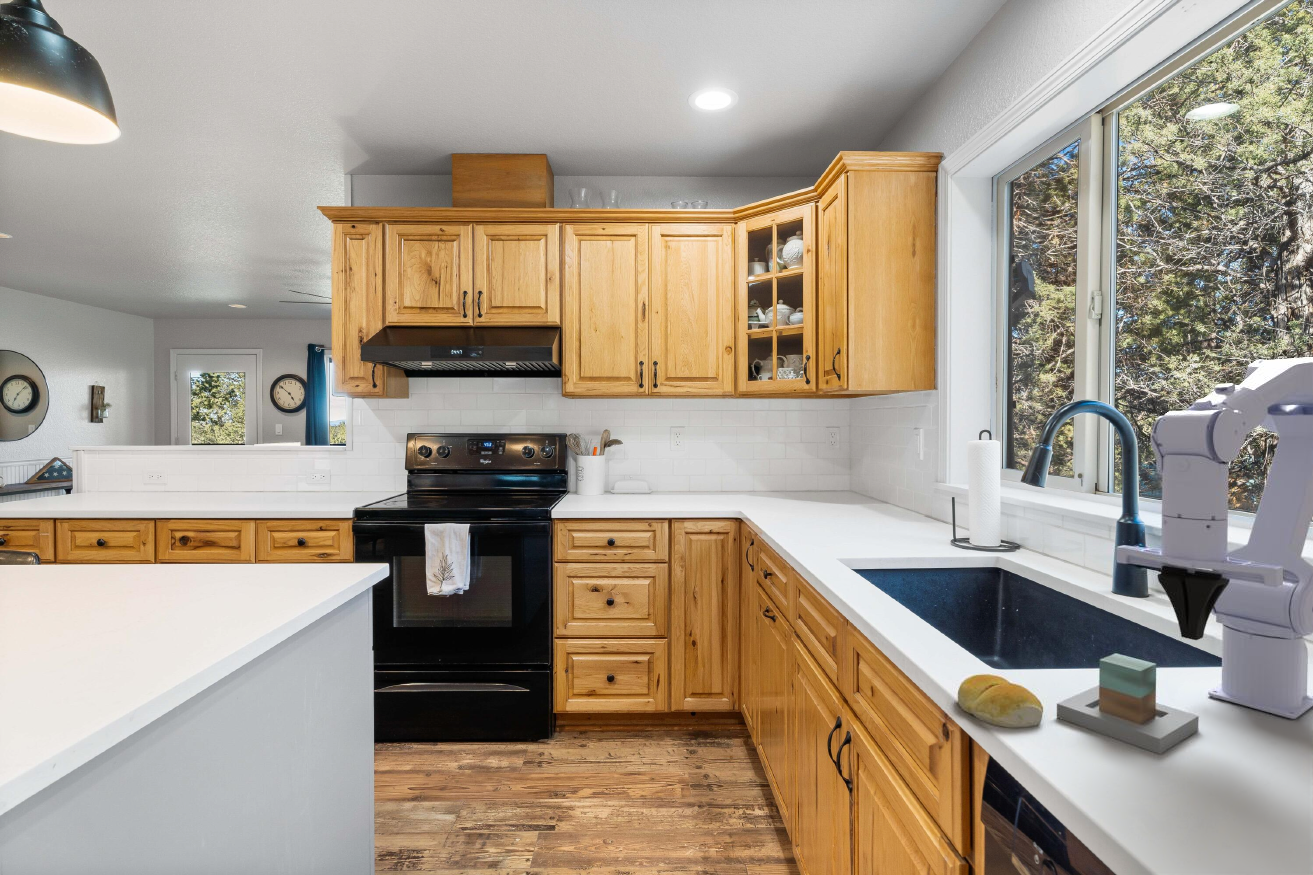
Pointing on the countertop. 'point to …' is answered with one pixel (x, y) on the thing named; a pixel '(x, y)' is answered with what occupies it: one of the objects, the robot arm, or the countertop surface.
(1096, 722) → the base plate
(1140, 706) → the brick stack
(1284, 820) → the countertop surface
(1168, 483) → the robot arm
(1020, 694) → the bread roll
